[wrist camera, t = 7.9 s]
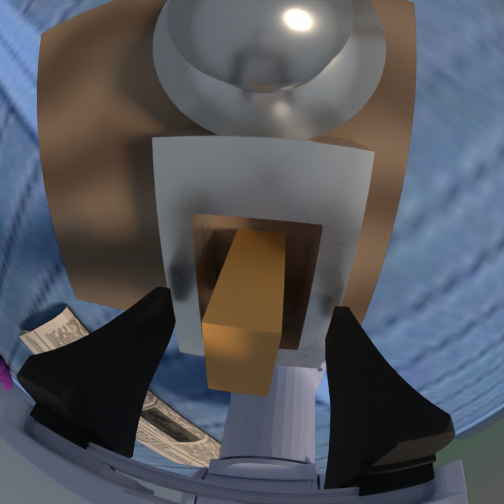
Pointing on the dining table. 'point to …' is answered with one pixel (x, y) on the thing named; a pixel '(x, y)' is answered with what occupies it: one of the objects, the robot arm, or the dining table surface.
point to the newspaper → (154, 410)
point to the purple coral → (5, 376)
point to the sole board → (172, 119)
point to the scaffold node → (264, 146)
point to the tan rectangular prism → (246, 315)
